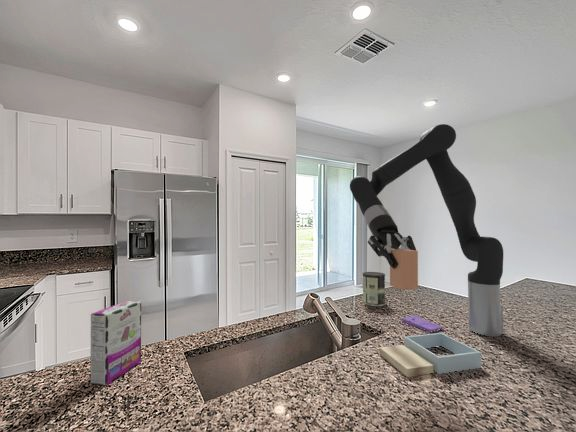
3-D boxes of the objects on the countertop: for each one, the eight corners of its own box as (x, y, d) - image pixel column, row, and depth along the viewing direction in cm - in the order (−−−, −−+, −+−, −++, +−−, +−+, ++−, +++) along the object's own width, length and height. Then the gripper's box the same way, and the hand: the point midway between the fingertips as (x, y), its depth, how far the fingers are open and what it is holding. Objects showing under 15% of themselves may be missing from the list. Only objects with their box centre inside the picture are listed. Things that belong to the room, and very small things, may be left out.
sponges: (415, 320, 108) (414, 315, 108) (444, 331, 96) (444, 326, 96) (401, 322, 105) (401, 317, 105) (430, 334, 93) (430, 329, 94)
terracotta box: (405, 284, 77) (405, 249, 77) (417, 288, 72) (417, 250, 72) (389, 285, 76) (389, 249, 76) (401, 289, 71) (401, 251, 71)
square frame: (441, 345, 84) (441, 332, 84) (481, 367, 71) (480, 352, 71) (404, 350, 81) (404, 336, 81) (438, 374, 68) (438, 357, 68)
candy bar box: (125, 360, 74) (127, 300, 74) (141, 362, 73) (142, 301, 73) (87, 384, 63) (89, 312, 64) (105, 386, 62) (107, 314, 63)
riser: (402, 351, 80) (402, 344, 80) (433, 373, 68) (433, 365, 68) (379, 354, 78) (379, 347, 78) (407, 377, 66) (407, 368, 66)
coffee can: (381, 300, 134) (380, 271, 135) (388, 306, 124) (388, 275, 124) (360, 300, 134) (360, 271, 135) (365, 306, 124) (365, 275, 125)
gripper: (363, 213, 81) (387, 258, 69) (405, 214, 85) (434, 257, 72) (355, 230, 86) (375, 275, 74) (394, 230, 90) (420, 273, 77)
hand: (404, 266), depth 73 cm, fingers closed on terracotta box, 5 cm apart
